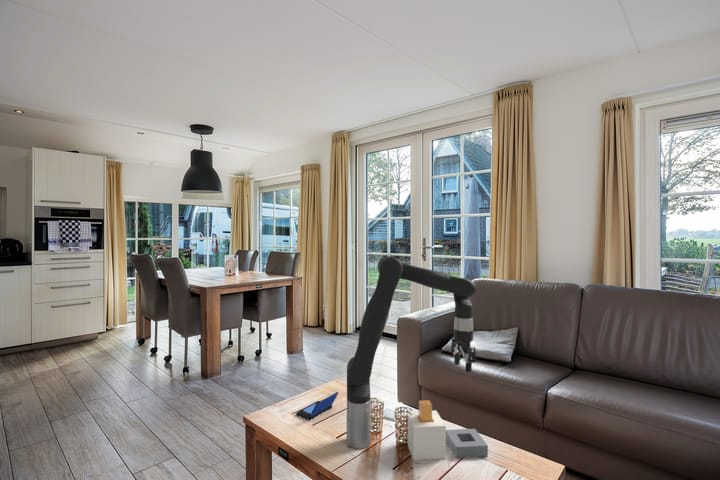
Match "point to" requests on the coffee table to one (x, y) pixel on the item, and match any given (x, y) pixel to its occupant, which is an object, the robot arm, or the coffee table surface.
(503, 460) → the coffee table surface
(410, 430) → the upper stand
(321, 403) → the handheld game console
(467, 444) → the lower base
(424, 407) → the plug
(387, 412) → the hard drive
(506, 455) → the coffee table surface
